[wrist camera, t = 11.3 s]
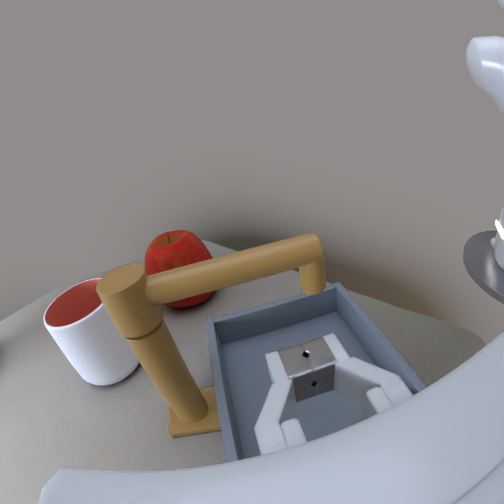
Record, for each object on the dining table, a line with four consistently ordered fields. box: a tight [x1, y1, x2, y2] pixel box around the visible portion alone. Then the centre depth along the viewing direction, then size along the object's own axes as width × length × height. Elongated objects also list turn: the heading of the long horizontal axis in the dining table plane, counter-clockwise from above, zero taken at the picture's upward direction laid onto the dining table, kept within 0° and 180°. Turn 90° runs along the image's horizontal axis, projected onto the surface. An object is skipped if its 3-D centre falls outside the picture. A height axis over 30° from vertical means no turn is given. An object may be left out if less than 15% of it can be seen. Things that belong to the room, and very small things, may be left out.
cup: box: [44, 278, 139, 386], centre depth 29 cm, size 10×10×10 cm
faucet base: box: [125, 318, 221, 437], centre depth 21 cm, size 5×5×12 cm
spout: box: [96, 232, 326, 338], centre depth 18 cm, size 15×4×5 cm, turn 102°
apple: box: [145, 230, 214, 308], centre depth 41 cm, size 11×11×11 cm
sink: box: [206, 282, 426, 462], centre depth 24 cm, size 16×18×4 cm
